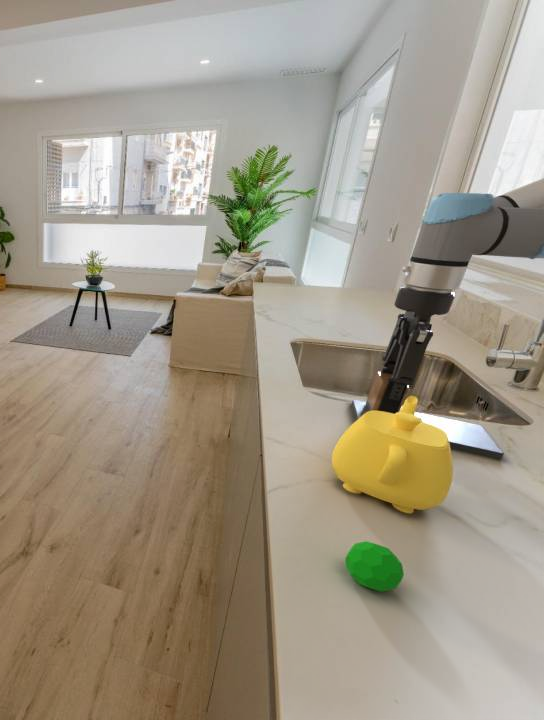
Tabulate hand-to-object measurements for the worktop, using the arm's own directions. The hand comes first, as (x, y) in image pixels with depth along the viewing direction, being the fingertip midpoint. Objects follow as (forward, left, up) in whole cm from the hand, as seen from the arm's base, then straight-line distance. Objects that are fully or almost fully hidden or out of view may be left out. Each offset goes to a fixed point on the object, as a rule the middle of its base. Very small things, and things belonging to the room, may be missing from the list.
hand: (383, 405), depth 83 cm
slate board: (-6, +2, -3) cm, 7 cm away
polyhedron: (+7, +49, -3) cm, 49 cm away
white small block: (-7, +2, -1) cm, 7 cm away
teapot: (+3, +27, -3) cm, 27 cm away
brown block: (0, 0, -1) cm, 1 cm away
